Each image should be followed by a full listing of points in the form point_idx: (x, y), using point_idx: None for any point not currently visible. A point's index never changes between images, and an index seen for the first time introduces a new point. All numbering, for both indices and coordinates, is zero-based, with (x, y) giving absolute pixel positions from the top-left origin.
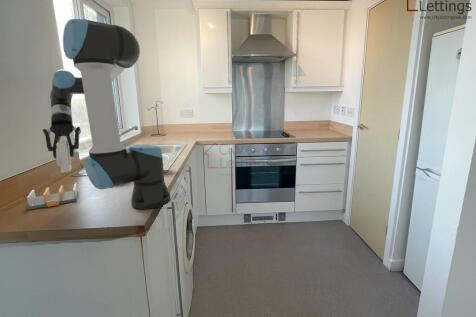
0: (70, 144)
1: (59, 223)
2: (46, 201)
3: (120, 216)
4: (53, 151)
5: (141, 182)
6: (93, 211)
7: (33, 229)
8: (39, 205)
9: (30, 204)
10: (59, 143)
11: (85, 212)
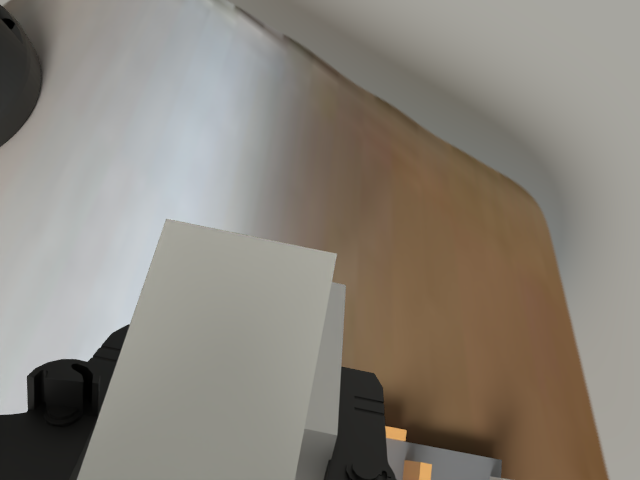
0: (39, 455)
1: (351, 141)
2: (406, 464)
3: (130, 39)
4: (378, 443)
5: None
6: (203, 170)
7: (442, 153)
8: (441, 449)
9: (493, 477)
10: (274, 266)
11: (236, 184)
